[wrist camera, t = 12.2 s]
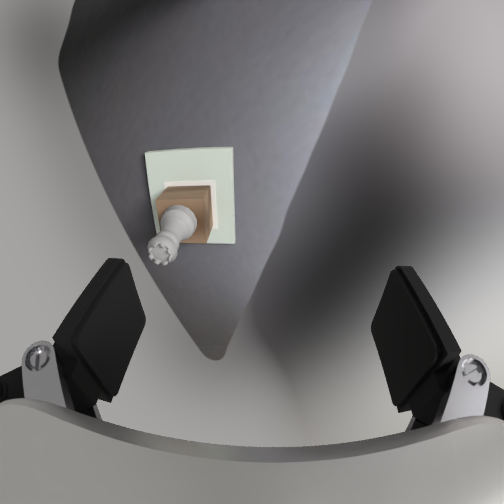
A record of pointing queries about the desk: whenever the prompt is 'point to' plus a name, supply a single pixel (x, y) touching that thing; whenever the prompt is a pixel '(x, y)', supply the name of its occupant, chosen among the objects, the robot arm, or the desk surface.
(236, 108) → the desk surface
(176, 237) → the rook chess piece
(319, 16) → the desk surface
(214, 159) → the build board
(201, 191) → the walnut block
